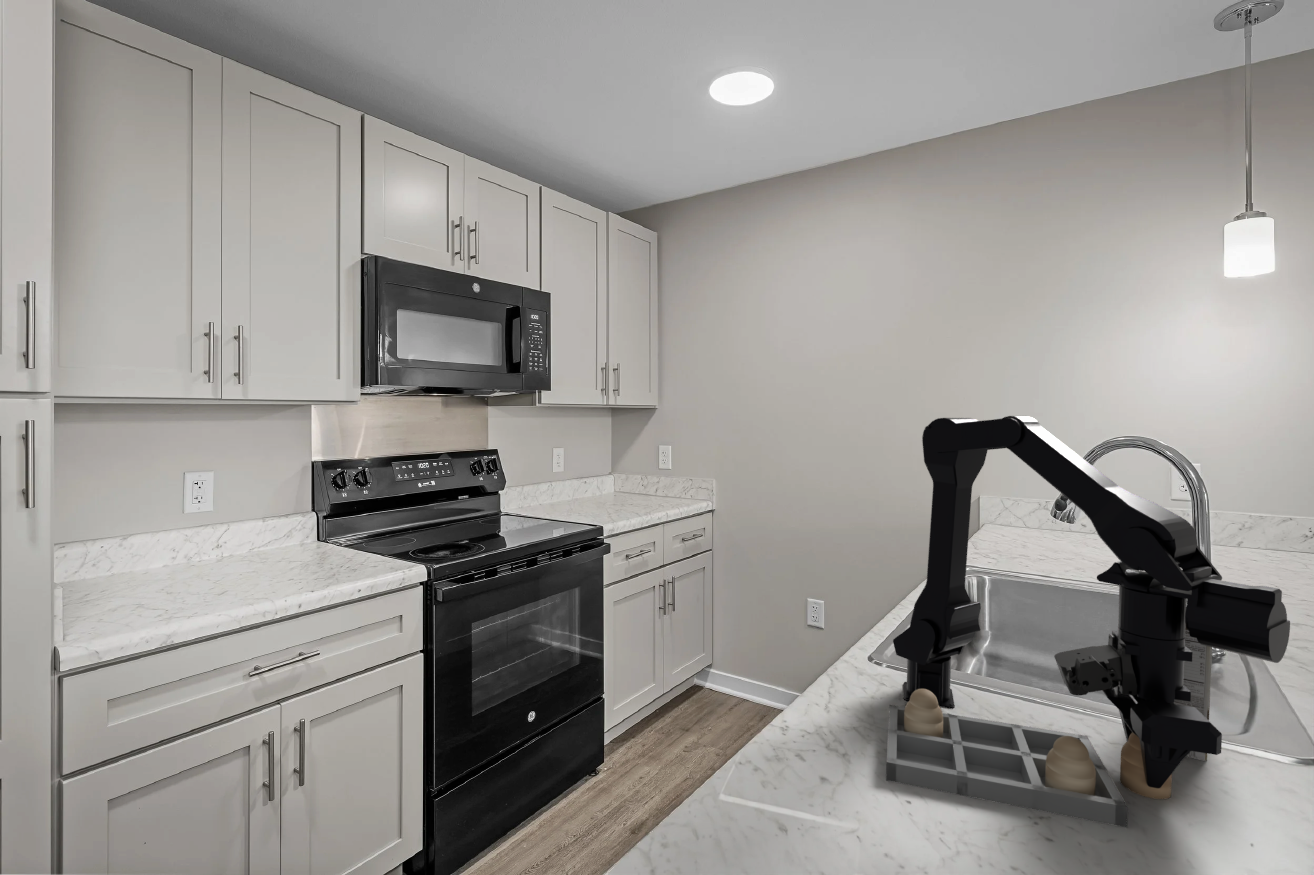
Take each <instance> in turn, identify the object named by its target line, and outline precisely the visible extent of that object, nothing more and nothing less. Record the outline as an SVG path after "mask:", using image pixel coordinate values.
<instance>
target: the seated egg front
mask: <svg viewBox="0 0 1314 875" xmlns="http://www.w3.org/2000/svg"><path fill="white" fill-rule="evenodd" d="M1095 783H1096V770H1095V766H1094V764H1093V762H1092V760H1091V759H1090V757H1089V752H1088V749H1087V747H1086V746H1085V745H1084V744H1083V742H1081V741H1080V740H1079V739H1077V738H1075V737H1072V736H1062V737H1060V738H1058V739H1057V740H1056V741H1055V743H1054V745H1053V748H1052V749H1051V750H1050V751H1049V753H1048V755H1047V757H1046V774H1045V787H1049V788H1055V789H1060V790H1066V791H1071V792H1077V793H1082V794H1087V795H1093V796H1095Z"/></svg>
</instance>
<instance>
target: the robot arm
mask: <svg viewBox="0 0 1314 875" xmlns="http://www.w3.org/2000/svg"><path fill="white" fill-rule="evenodd" d="M921 438H922V440H921V442H922V452H923V462H924V465H925V466H926V469H927V471H928V473H929V476H930V478H931V480H932V496H931V497H932V498H931V511H930V522H929V523H930V528H929V539H928V555H927V571H926V572H927V573H926V582H925V585H924V588H922V590H921V592H920V593H919V596H918V597H917V599H916V601H915V602H914V605H913V609H912V615H911V617H910V618H911V619H910V623H909V627H907V629H905V630H904V631H902V632H901V633H900V634H898V635H897V636H896V637H895V638H894V639H893V640H892V644H893V647H894V650H895V655H896V656H898V657H901V658H902V659H903V658H904V659H906V664H907V665H906V681H904V682H903V701H904V702H906V703H908V702H909V701H910V697H911V695H912V693H913V692H914V691H915V690H917V689H927V690H929V691H931V692H932V693H933V694H934V695H935V696H936V698H937V701H938V705H939V707H940V708H945V709H946V708H947V709H952V710H953V709H955V700H954V694H953V690H952V688H951V679H952V678H951V677H952V676H951V673H952V671H951V670H952V657H953V656H956V655H958V656H959V655H962V654H963V652H964V649H965V647H966V645H968V644H969V643H971V642H972V641H973V640H974V638H975V636H976V633H978V632H981V628H980V624H979V623H980V622H979V620H980V619H979V618H980V613H981V609H982V606H981V603H980V602H979V601H973V600H971V597H970V596H969V594H968V591H967V588H966V578H967V577H966V574H967V561H968V548H969V533H970V532H969V531H970V520H971V506H972V505H971V504H972V492H973V491H972V490H973V484H974V482H975V481H976V479H977V477H978V476H979V474H980V473H981V470H982V469H983V467H984V465H985V464H986V463H985V462H986V458H987V454H988V451H990V450H992V451H993V450H999V449H1000V450H1001V449H1002V450H1003V449H1007V450H1009V451H1010V452H1011V453H1013V455H1015V456H1016V457H1017V458H1019V459H1020V460H1021V461H1022V462H1023V463H1025V464H1026V465H1027V466H1028V467H1030V469H1032V470H1033V471H1034V472H1036V473H1037V474H1038V475H1039V476H1040V477H1041V478H1042V479H1043V480H1045V481H1047V483H1048V484H1050V485H1051V486H1052V487H1053V488H1054V489H1056V490H1057V491H1058V492H1059V493H1061V494H1062V495H1063V496H1064V497H1065V498H1066V499H1068V500H1069V501H1070V502H1072V504H1074V505H1075V506H1076V507H1077V508H1079V510H1081V511H1082V512H1083V513H1084V514H1085V515H1086V516H1087V518H1088V519H1089V520H1090V522H1091V523H1092V525H1093V527H1094V529H1095V531H1096V533H1097V535H1098V537H1099V538H1100V539H1101V541H1102V542H1103V543H1104V544H1105V546H1107V547H1108V549H1109V550H1110V551H1111V552H1112V553H1113V554H1114V555H1115V556H1116V558H1117V559H1118V561H1115V562H1113V564H1112V565H1111V566H1110V567H1109V568H1108V569H1106V570H1105V571H1103V572H1102V573H1100V574H1097V576H1096V580H1097V581H1098V582H1101V583H1106V584H1111V585H1117V586H1118V587H1119V588H1118V589H1119V590H1118V614H1117V630H1111V633H1109V634H1108V642H1107V644H1105V645H1097V646H1096V645H1095V646H1094V645H1093V646H1087V647H1081V648H1075V649H1071V650H1065V651H1060V652H1057V653H1056V654H1054V660H1055V662H1056V666H1057V668H1058V670H1059V673H1060V675H1061V678H1062V680H1063V681H1062V682H1063V684H1064V685H1065V686H1066V689H1067V690H1068V692H1069V693H1070V695H1072V696H1086V695H1087V694H1088V693H1093V692H1095V693H1096V692H1101V691H1102V692H1103V693H1104V696H1106V698H1107V700H1109V701H1110V703H1112V704H1113V706H1115V707H1116V709H1118V713H1119V715H1120V719H1121V723H1122V726H1123V727H1122V728H1123V732H1124V736H1125V740H1126V742H1127V741H1128V739H1129V736H1130V734H1131V733H1132V732H1133V733H1134V734H1135V735H1137V736H1138V737H1139V739H1140V746H1141V753H1142V760H1143V767H1144V773H1145V778H1146V783H1147V785H1148V786H1149V787H1152V788H1161V787H1162V785H1163V784H1164V783H1165V782H1166V780H1167V779H1168V778H1169V776H1170V775H1171V774H1172V775H1173V773H1174V771H1175V770H1176V769H1177V768H1178V766H1179V765H1180V764H1181V763H1182V761H1183V760H1184V759H1185V758H1186V757H1187V755H1188V754H1189V753H1190V752H1191V751H1195V752H1201V753H1207V755H1215V756H1217V755H1220V754H1222V740H1223V733H1222V732H1221V731H1220V730H1219V729H1218V728H1217V727H1216V726H1215V725H1214V724H1213V723H1212V722H1211V721H1210V719H1209V720H1208V719H1207V718H1206V717H1205V716H1204V715H1202V714H1201V713H1200V712H1199V711H1198V710H1197V709H1196V708H1195V707H1188V706H1181V705H1175V704H1174V703H1173V702H1175V700H1182V701H1190V702H1191V691H1189V690H1188V689H1187V688H1186V687H1185V686H1184V685H1183V680H1184V661H1189V662H1192V654H1193V652H1192V651H1191V650H1189V649H1188V648H1187V647H1186V646H1185V628H1186V627H1187V629H1188V631H1189V634H1190V637H1194V638H1197V640H1198V642H1199V643H1200V644H1201V645H1205V646H1209V647H1212V649H1213V648H1214V649H1216V650H1217V649H1218V650H1222V651H1226V652H1230V653H1234V654H1238V655H1241V656H1245V657H1246V656H1247V657H1250V658H1254V659H1258V660H1262V661H1266V662H1271V663H1274V664H1279V663H1280V662H1281V661H1282V659H1283V658H1284V656H1285V653H1286V650H1287V647H1288V644H1289V639H1290V630H1291V621H1290V620H1289V619H1288V614H1287V609H1286V606H1285V604H1284V602H1283V601H1282V598H1283V597H1282V595H1283V591H1282V590H1281V589H1280V588H1279V587H1272V586H1266V585H1249V584H1243V583H1237V582H1232V581H1231V582H1230V581H1226V580H1222V579H1223V576H1222V575H1221V574H1220V572H1219V571H1218V570H1217V568H1216V567H1215V566H1214V564H1213V563H1212V562H1211V560H1210V559H1209V558H1208V557H1207V556H1206V555H1205V554H1206V553H1204V551H1202V550H1201V548H1200V547H1199V546H1198V542H1197V541H1198V540H1197V532H1196V530H1195V528H1194V526H1193V525H1192V524H1191V523H1190V522H1189V521H1188V520H1186V519H1185V518H1183V517H1182V516H1180V515H1178V514H1177V513H1174V512H1173V511H1170V510H1169V509H1167V508H1165V507H1163V506H1162V505H1160V504H1158V503H1156V502H1154V501H1152V500H1150V499H1147V498H1144V497H1142V496H1140V495H1138V494H1135V493H1133V492H1130V491H1128V490H1127V489H1125V488H1123V487H1121V486H1119V484H1117V483H1115V482H1114V481H1113V480H1112V479H1110V477H1108V476H1107V475H1106V474H1104V473H1102V472H1101V470H1098V469H1097V468H1096V467H1095V466H1093V464H1091V463H1089V462H1088V461H1087V460H1085V458H1083V457H1082V456H1081V455H1079V454H1078V453H1076V451H1074V450H1073V449H1072V448H1070V447H1069V446H1068V445H1067V444H1065V443H1064V442H1063V441H1061V440H1060V439H1058V438H1057V437H1056V436H1054V435H1053V434H1052V433H1050V431H1048V430H1046V429H1045V428H1044V427H1043V426H1042V424H1041V423H1040V422H1039V421H1038V420H1037V419H1035V418H1034V417H1032V416H1027V415H1007V416H1004V417H1002V418H996V419H987V420H986V419H985V420H984V419H983V420H978V419H976V418H972V417H940V418H939V417H938V418H935V419H934V420H932V421H931V422H930V423H929V424H928V425H926V426H925V427H924V429H923V432H922V436H921Z"/></svg>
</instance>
